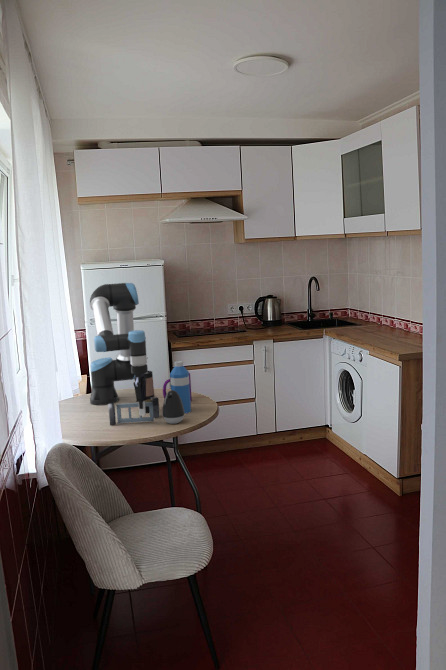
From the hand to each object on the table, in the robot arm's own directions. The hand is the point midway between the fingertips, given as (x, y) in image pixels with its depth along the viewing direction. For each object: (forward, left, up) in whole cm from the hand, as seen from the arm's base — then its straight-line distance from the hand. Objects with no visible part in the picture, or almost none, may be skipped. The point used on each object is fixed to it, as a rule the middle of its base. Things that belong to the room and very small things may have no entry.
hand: (142, 415), depth 260 cm
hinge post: (-9, -12, -5) cm, 16 cm away
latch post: (-9, +8, -5) cm, 13 cm away
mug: (-28, +28, -5) cm, 40 cm away
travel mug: (-21, +9, -5) cm, 23 cm away
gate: (-5, -2, -4) cm, 6 cm away
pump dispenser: (+5, +13, -5) cm, 15 cm away
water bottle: (-10, +23, -5) cm, 26 cm away
